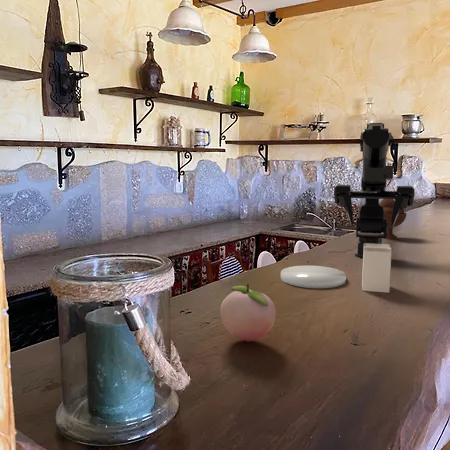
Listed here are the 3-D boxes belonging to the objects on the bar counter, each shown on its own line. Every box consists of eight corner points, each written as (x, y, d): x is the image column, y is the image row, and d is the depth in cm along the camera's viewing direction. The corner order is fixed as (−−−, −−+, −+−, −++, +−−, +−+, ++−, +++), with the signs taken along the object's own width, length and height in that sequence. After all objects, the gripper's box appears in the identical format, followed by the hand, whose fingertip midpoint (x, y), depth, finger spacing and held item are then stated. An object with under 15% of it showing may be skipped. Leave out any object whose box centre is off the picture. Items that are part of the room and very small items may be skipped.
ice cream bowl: (386, 241, 161) (388, 199, 159) (368, 236, 172) (370, 197, 170) (411, 239, 164) (414, 199, 162) (392, 234, 175) (394, 196, 172)
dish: (317, 268, 123) (317, 263, 123) (359, 282, 109) (360, 276, 109) (268, 275, 116) (268, 269, 116) (306, 291, 102) (306, 285, 102)
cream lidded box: (361, 283, 108) (363, 243, 107) (387, 285, 107) (389, 244, 105) (362, 290, 103) (364, 247, 101) (389, 292, 101) (391, 249, 100)
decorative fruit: (209, 341, 75) (208, 283, 73) (242, 328, 80) (242, 274, 79) (250, 359, 68) (251, 296, 67) (284, 343, 74) (285, 284, 72)
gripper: (335, 153, 110) (330, 209, 104) (417, 152, 105) (417, 212, 98) (337, 176, 120) (332, 229, 114) (412, 177, 114) (411, 233, 108)
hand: (371, 226), depth 108 cm, fingers open, 9 cm apart
